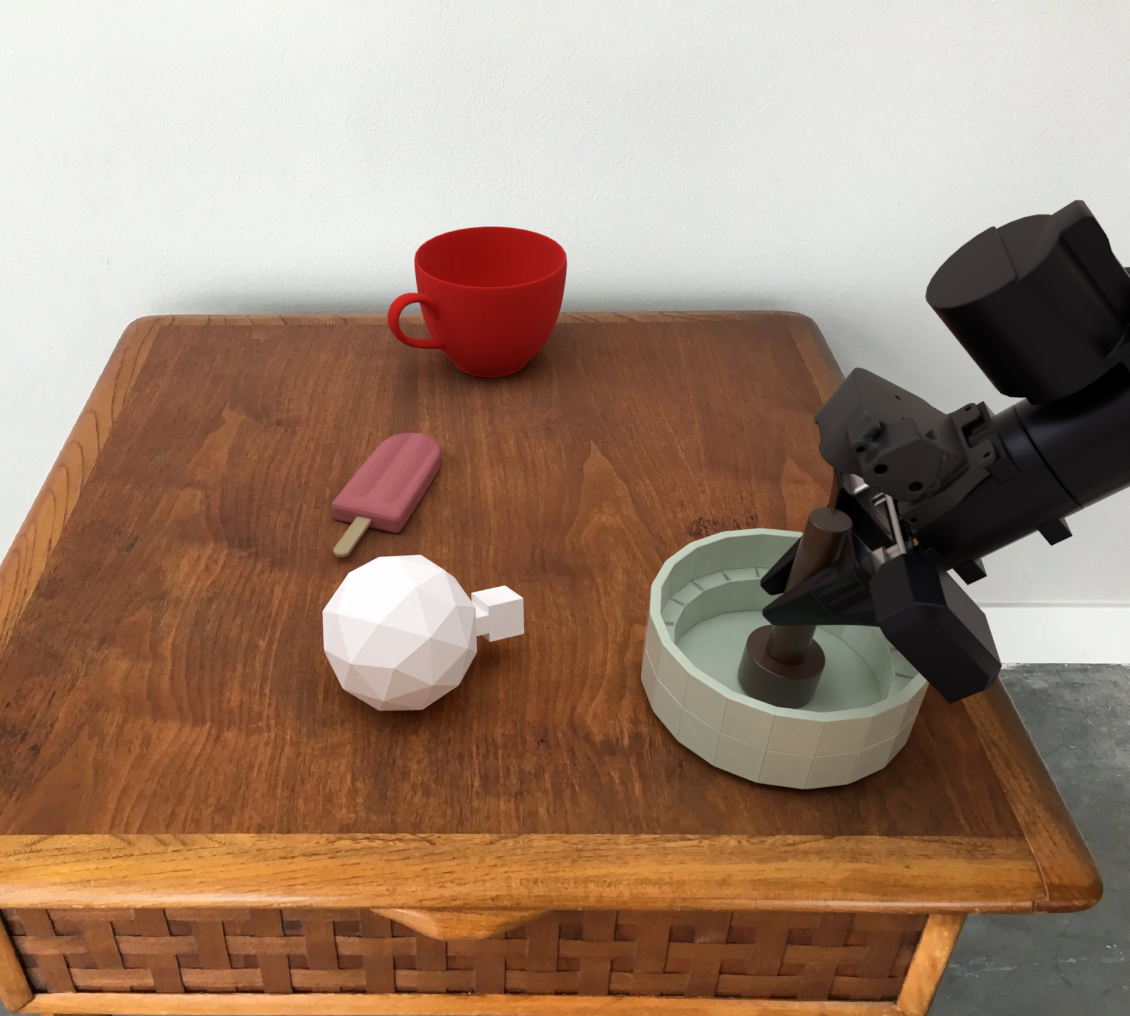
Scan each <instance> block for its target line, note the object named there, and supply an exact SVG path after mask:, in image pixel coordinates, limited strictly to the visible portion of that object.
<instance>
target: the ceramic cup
mask: <svg viewBox="0 0 1130 1016" xmlns="http://www.w3.org/2000/svg"><path fill="white" fill-rule="evenodd" d="M413 264H414V275H415V285H416V291H417V292H407V293H402V294H401V295H399V296H397V297H396V298H395V299H394V300H392V302H391V303H390V306H389V307H388V310H387V314H386V315H387V317H386V318H387V319H386V320H387V321H386V322H387V325H388V328H389V330H390V332H391V333H392V335H393V337H395V339H397V340H398V342H400V343H402V344H403V345H405V346H408V347H411V348H413V349H414V348H415V349H423V350H439V351H441V353H442V354H444V356H445V357H446V358H447V359H449V361H451V362H452V363H453V364H454V365H455V367H456V368H457V369H458V370H460V371H462V372H463V373H466V374H467V375H471V376H473V377H479V378H500V377H501V378H502V377H506V376H510V375H513V374H516V373H517V372H520V370H522V369H524V367H525V366H526V364H527V363H529V362H530V361H531V360H532V359H533V358H534V357H536V355H537V354H538V353H539V352H540V350H542V348H544V346H545V344H546V343H547V342H548V340H549V339H550V337H551V335H552V333H553V331H554V330H555V326H556V324H557V321H558V318H559V316H560V312H561V309H562V305H563V300H564V295H565V294H564V293H565V289H566V282H567V281H566V280H567V272H568V258H567V253H566V250H565V249H564V247H563V246H562V245H561V244H560V243H558V241H556V240H554V239H553V238H551V237H550V236H547V235H545V234H542V233H539V232H536V231H532V230H528V229H525V228H517V227H510V226H496V225H495V226H485V225H483V226H474V227H473V226H472V227H464V228H459V229H454V230H449V231H446V232H443V233H441V234H438V235H435V236H434V237H432V238H430V239H428V240H426V241H425V242H423V243H422V244H421V245H419V247H418V248H417V250H416V251H415V253H414V259H413ZM413 304H419V307H420V310H421V313H422V319H423V321H424V324H425V327H426V329H427V331H428V333H429V335H430V337H431V338H416V337H411V336H408V335H407V334H405V333H404V332H403V330H402V329H401V326H400V317H401V314H402V312H403V311H404V310H405V308H407V307H408V306H409V305H413Z"/></svg>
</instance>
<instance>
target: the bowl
mask: <svg viewBox="0 0 1130 1016" xmlns="http://www.w3.org/2000/svg"><path fill="white" fill-rule="evenodd" d="M803 532H804V531H803ZM803 532H802V531H795V530H784V529H775V528H765V527H763V528H762V527H761V528H760V527H757V528H746V529H735V530H725V531H720V532H717V533H714V534H712V535H709V536H705V537H703V538H700V539H697V540H694V541H692V542H689V543H688V544H687V545H685V546H683V547H682V548H681V549H680V550H678V551H677V552H675V553H674V554H673V555H671V556H669V558H667V559H666V560H665V561H664V563H663V564H662V566H661V568H660V569H659V571H658V573H657V575H656V576H655V577H654V579H653V581H652V583H651V585H650V592H649V597H648V599H649V600H648V607H647V615H646V621H645V630H644V638H643V643H642V653H641V671H640V680H641V683H642V685H643V688H644V691H645V694H646V697H647V700H648V702H649V705H650V707H651V710H652V712H653V713H654V714H655V715H656V716H657V718H658V719H659V720H660V722H661V723H662V724H663V726H665V728H666V729H667V730H668V731H669V732H670V734H671V735H672V736H673V738H674V739H675V740H677V742H678V743H679V744H681V745H683V746H684V747H686V748H687V749H689V750H690V751H691V752H693V753H694V754H696V755H697V756H698V757H700V758H702V760H704V761H706V762H707V763H709V764H710V765H711V766H713V767H714V768H718V769H720V770H723V771H726V772H728V773H730V774H732V775H736V776H738V777H741V778H743V779H746V780H748V781H752V782H754V783H756V784H762V785H769V786H778V787H784V788H792V789H799V790H813V789H820V788H829V787H836V786H837V787H838V786H846V785H850V784H852V783H854V782H857V781H859V780H861V779H863V778H865V777H867V776H870V775H872V774H874V773H877V772H879V771H880V770H883V769H884V768H886V767H887V765H888V764H889V763H890V762H891V761H892V760H893V759H894V758H895V757H896V755H897V754H899V752H900V751H901V750H902V749H903V747H904V746H905V745H906V744H907V742H908V741H909V738H910V734H911V732H912V729H913V727H914V724H915V722H916V719H917V717H918V714H919V711H920V708H921V706H922V703H923V701H924V699H925V695H926V692H927V691H928V688H929V685H930V683H929V682H928V681H927V680H926V679H925V678H924V677H923V676H922V675H921V674H920V673H919V672H918V671H917V670H916V669H915V668H914V667H913V666H912V665H911V664H910V663H909V662H908V661H907V660H906V658H905V657H904V656H903V655H902V654H901V653H900V652H899V651H898V650H897V649H896V648H895V647H894V646H893V645H892V644H891V643H890V642H889V641H888V640H887V639H886V638H885V636H884V634H883V633H882V631H881V629H880V627H872V626H858V625H817V628H816V630H815V633H814V636H813V639H814V640H815V641H816V642H817V643H818V644H819V645H820V646H821V648H822V649H823V652H824V654H825V659H826V663H825V667H824V670H823V672H822V675H821V678H820V680H819V683H818V685H817V688H816V691H815V693H814V696H813V698H812V699H811V700H810V702H808V703H807V704H806V705H804V706H802V707H799V708H795V709H790V708H782V707H776V706H773V705H770V704H768V703H765V702H762V701H759V700H756V699H754V698H753V697H751V696H750V695H749V694H748V693H747V692H746V691H745V690H744V688H743V687H742V686H741V684H740V681H739V678H738V668H739V664H740V661H741V658H742V655H743V651H744V648H745V645H746V642H747V639H748V636H749V635H750V634H751V633H752V632H753V631H754V630H755V629H757V628H759V627H761V626H765V625H772V624H770V623H769V622H768V621H767V620H766V619H765V618H764V617H763V615H762V610H763V608H765V607H766V606H767V605H769V604H770V603H771V602H773V601H774V600H775V599H777V598H778V597H779V596H781V595H782V594H778V595H769V594H768V593H767V592H766V591H765V590H764V589H763V588H762V587H761V586H760V580H761V578H762V577H763V576H764V575H765V574H766V573H767V572H768V571H769V570H770V569H771V568H772V567H773V566H774V565H775V563H776V562H777V561H778V560H779V559H780V558H781V557H782V556H783V555H784V554H785V553H786V552H787V551H788V550H789V549H790V548H791V547H792V545H793V544H794V543H795V542H796V541H797V540H798V539H799V538H800V537H801V536H802V535H803Z"/></svg>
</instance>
